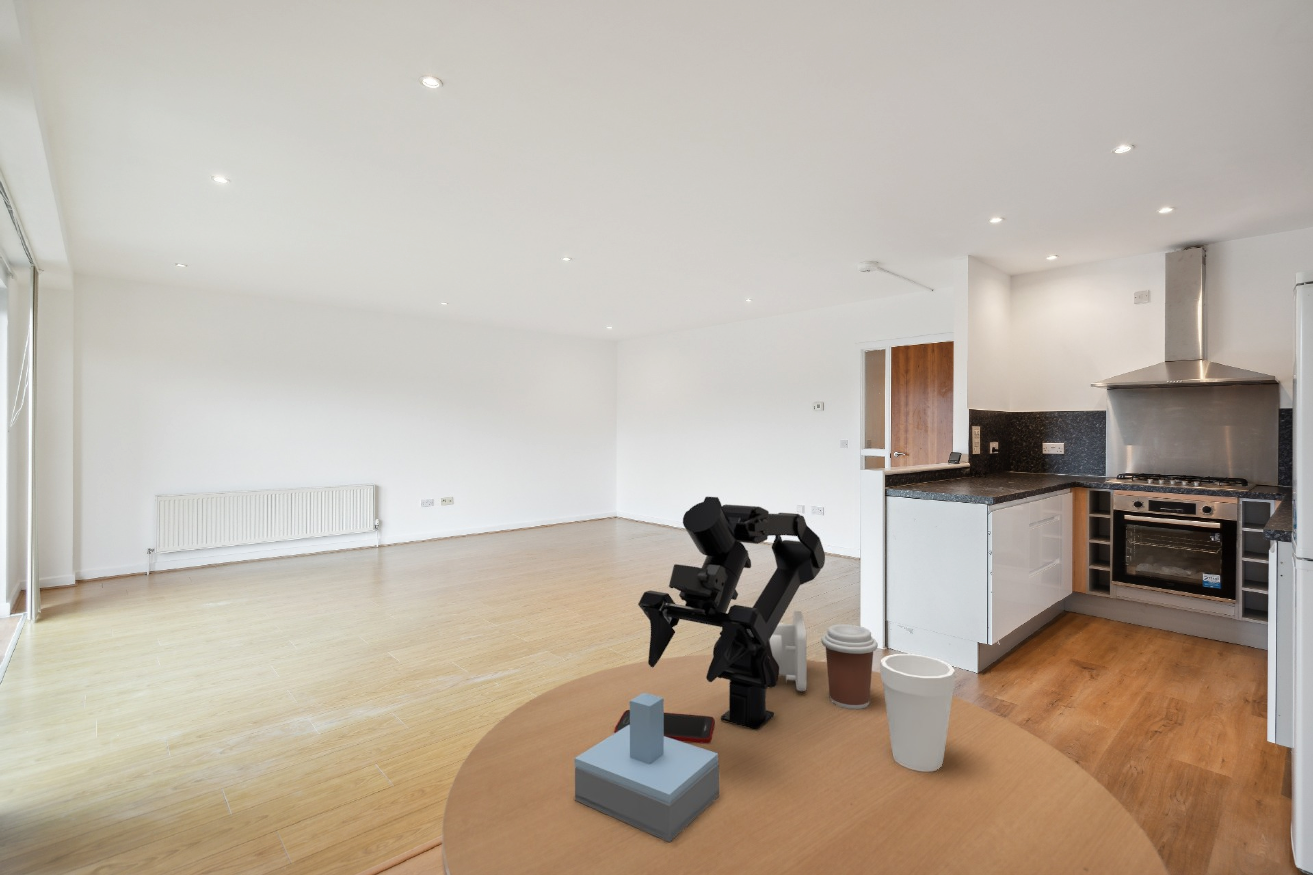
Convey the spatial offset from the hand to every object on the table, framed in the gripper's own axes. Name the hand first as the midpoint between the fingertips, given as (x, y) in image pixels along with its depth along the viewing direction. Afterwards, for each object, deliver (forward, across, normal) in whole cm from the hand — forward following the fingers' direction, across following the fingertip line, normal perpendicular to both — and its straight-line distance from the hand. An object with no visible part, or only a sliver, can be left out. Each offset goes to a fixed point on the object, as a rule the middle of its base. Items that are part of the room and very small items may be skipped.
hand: (678, 672), depth 83 cm
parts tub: (+14, 0, +4) cm, 15 cm away
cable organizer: (-17, -3, +36) cm, 39 cm away
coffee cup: (-16, +11, +35) cm, 40 cm away
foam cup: (-6, +25, +25) cm, 36 cm away
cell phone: (+3, -9, +17) cm, 19 cm away
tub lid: (+11, 0, +2) cm, 12 cm away
